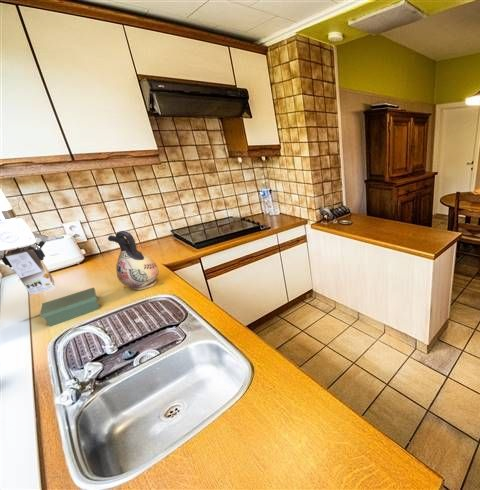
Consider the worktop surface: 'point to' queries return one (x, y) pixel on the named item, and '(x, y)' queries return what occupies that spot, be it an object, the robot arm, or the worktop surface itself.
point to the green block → (69, 306)
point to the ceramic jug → (133, 263)
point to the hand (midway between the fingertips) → (27, 262)
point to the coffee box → (30, 269)
